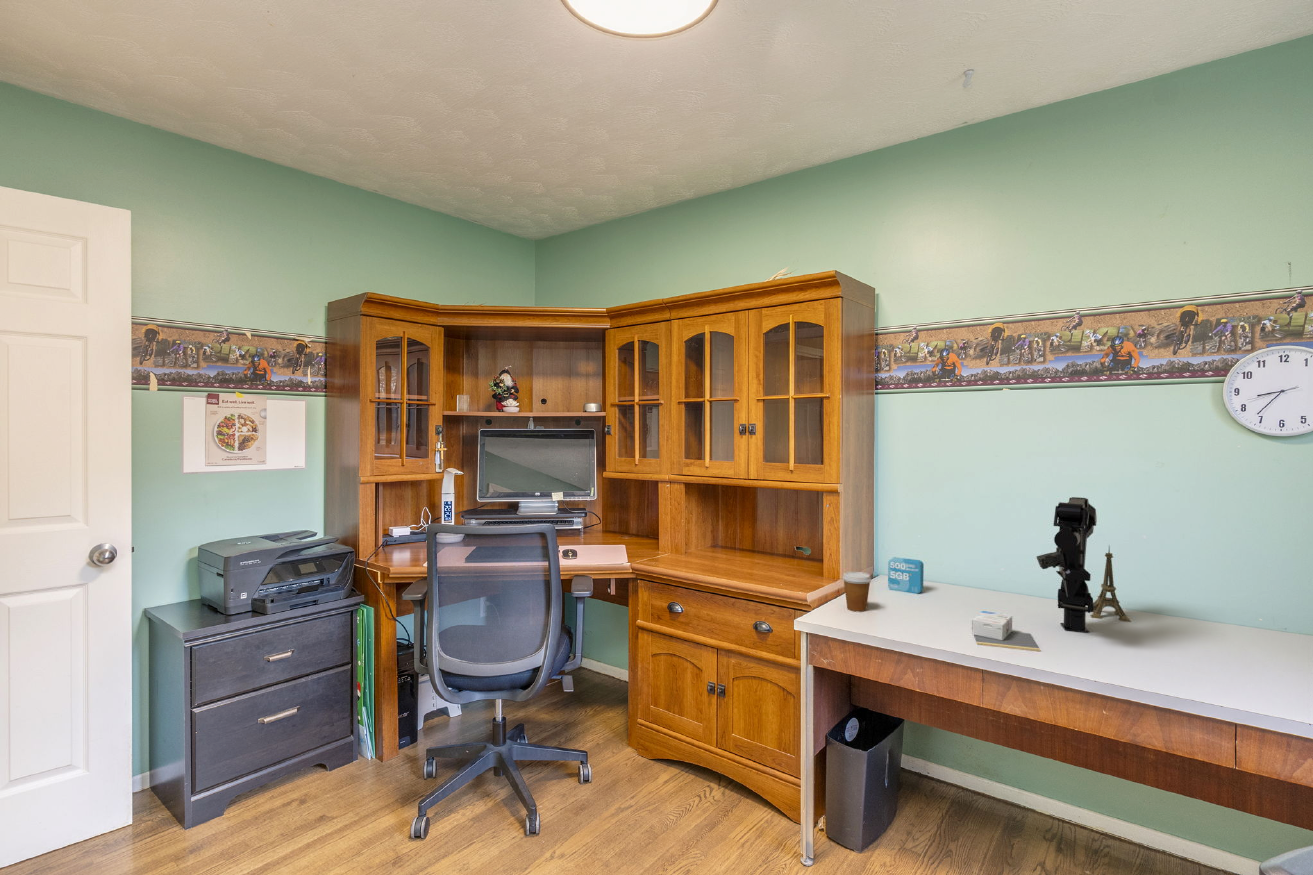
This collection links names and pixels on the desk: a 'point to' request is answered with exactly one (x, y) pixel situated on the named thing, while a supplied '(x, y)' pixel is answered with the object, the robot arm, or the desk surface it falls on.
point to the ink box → (992, 625)
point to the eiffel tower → (1102, 598)
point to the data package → (905, 575)
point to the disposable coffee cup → (856, 590)
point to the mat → (1010, 641)
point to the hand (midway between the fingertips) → (1069, 597)
